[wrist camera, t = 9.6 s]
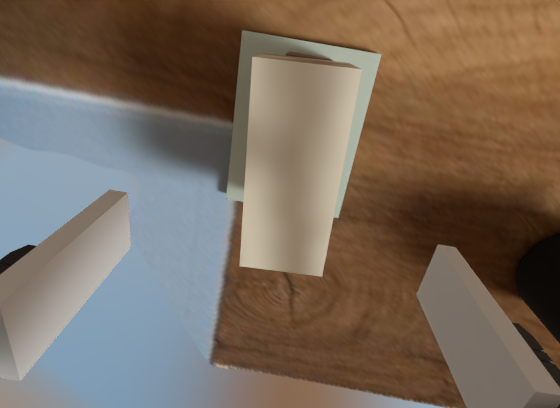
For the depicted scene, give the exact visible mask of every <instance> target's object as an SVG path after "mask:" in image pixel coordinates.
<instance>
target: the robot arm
mask: <svg viewBox="0 0 560 408" xmlns="http://www.w3.org/2000/svg"><path fill="white" fill-rule="evenodd" d="M128 205H129V204H128V193H126V192H120V191H114V190H109V191H107V192H106V193H105V194H104V195H102V196H101V197H100V198H98V199H97V200H96V201H94V202H93V203H92V204H91V205H89V206H88V207H87V208H85V209H84V210H83V211H82V212H80V213H79V214H78V215H76V216H75V217H74V218H73V219H71V220H70V221H69V222H67V223H66V224H65V225H64V226H62V227H61V228H60V229H58V230H57V231H56V232H55V233H53V234H52V235H51V236H49V237H48V238H47V239H45V240H44V241H43V242H42V243H40V244H39V245H38V246H33V245H27V246H24V247H22V248H20V249H17V250H15V251H13V252H10V253H9V254H8V255H6V256H5V257H4V258H2V259H1V260H0V378H4V379H11V380H17V381H21V380H22V378H23V377H24V376H25V375H26V374H27V372H28V371H29V370H30V369H31V368H32V366H33V365H34V364H35V363H36V361H37V360H38V359H39V358H40V357H41V356H42V354H43V353H44V352H45V351H46V349H47V348H48V347H49V346H50V345H51V343H52V342H53V341H54V340H55V339H56V337H57V336H58V335H59V334H60V332H61V331H62V330H63V329H64V328H65V326H66V325H67V324H68V323H69V322H70V320H71V319H72V318H73V317H74V316H75V314H76V313H77V312H78V311H79V309H80V308H81V307H82V306H83V305H84V303H85V302H86V301H87V300H88V299H89V298H90V296H91V295H92V294H93V293H94V291H95V290H96V289H97V288H98V287H99V285H100V284H101V283H102V282H103V281H104V279H105V278H106V277H107V276H108V275H109V273H110V272H111V271H112V270H113V269H114V267H115V266H116V265H117V264H118V262H119V261H120V260H121V259H122V258H123V256H124V255H125V254H126V253H127V251H128V250H129V249H130V248H131V246H130V225H129V206H128ZM416 295H417V297H418V300H419V302H420V304H421V306H422V309H423V311H424V313H425V315H426V318H427V320H428V322H429V324H430V326H431V329H432V331H433V333H434V335H435V338H436V340H437V342H438V344H439V347H440V349H441V351H442V353H443V356H444V358H445V360H446V362H447V364H448V367H449V369H450V371H451V373H452V376H453V378H454V380H455V382H456V385H457V387H458V389H459V391H460V394H461V396H462V398H463V400H464V402H465V405H466V407H467V408H560V370H559V369H558V367H557V366H556V365H554V364H553V361H552V360H551V358H550V357H549V356H548V355H547V353H544V350H543V348H542V347H541V346H540V344H539V343H538V342H537V341H536V339H535V338H534V337H533V336H532V335H531V334H530V333H529V332H527V331H526V330H525V329H524V328H523V327H522V326H520V325H519V324H517V323H511V321H510V320H509V318H508V317H507V316H506V314H505V313H504V312H503V310H502V309H501V308H500V306H499V305H498V304H497V302H496V301H495V300H494V298H493V297H492V296H491V294H490V293H489V291H488V290H487V289H486V287H485V286H484V285H483V283H482V282H481V281H480V279H479V278H478V277H477V275H476V274H475V273H474V271H473V270H472V269H471V267H470V266H469V264H468V263H467V262H466V260H465V259H464V258H463V256H462V255H461V254H460V252H459V251H458V250H457V248H456V247H451V246H445V245H439V244H438V245H437V248H436V250H435V252H434V255H433V257H432V259H431V262H430V264H429V266H428V269H427V271H426V273H425V276H424V278H423V280H422V283H421V285H420V287H419V290H418V292H417V294H416Z"/></svg>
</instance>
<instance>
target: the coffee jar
mask: <svg viewBox="0 0 560 408" xmlns="http://www.w3.org/2000/svg"><path fill="white" fill-rule="evenodd" d="M517 288H518V292H519V294H520V295H521V297H522V299H523V300H524V302H525V303H526V304H527V305H528V306H529V308H530V309H531V310H532V311H533V312H534V314H535V315H536V316H537V317H538V318H539V319H540V321H541V322H542V323H543V324H544V325H545V327H546V328H547V329H548V330H549V331H550V333H551V334H552V335H553V336H554V337H555V338H556V340H557V341H558V342H559V343H560V234H558V235H554V236H552V237H550V238H547V239H545V240H543V241H541V242H539V243H538V244H537V245H536V246H534V247H533V248H532V249H531V250H529V251H528V253H527V254H526V255H525V257H524V258H523V259H522V261H521V262H520V265H519V268H518V271H517Z"/></svg>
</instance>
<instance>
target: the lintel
mask: <svg viewBox="0 0 560 408" xmlns="http://www.w3.org/2000/svg"><path fill="white" fill-rule="evenodd" d="M361 73H362V69H361V68H358V67H356V66H354V65H352V64H350V63H345V62H336V61H327V60H318V59H310V58H301V57H292V56H283V55H275V54H266V53H264V54H260V55H257V56H253V57H252V71H251V87H250V104H249V120H248V137H247V153H246V169H245V186H244V202H243V219H242V235H241V252H240V266H243V267H251V268H259V269H267V270H275V271H283V272H291V273H299V274H307V275H315V276H322V274H323V269H324V263H325V258H326V253H327V248H328V243H329V238H330V232H331V227H332V222H333V217H334V212H335V207H336V202H337V196H338V191H339V186H340V181H341V176H342V171H343V165H344V160H345V155H346V150H347V145H348V140H349V134H350V129H351V124H352V119H353V114H354V109H355V104H356V98H357V93H358V88H359V83H360V78H361Z"/></svg>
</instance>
